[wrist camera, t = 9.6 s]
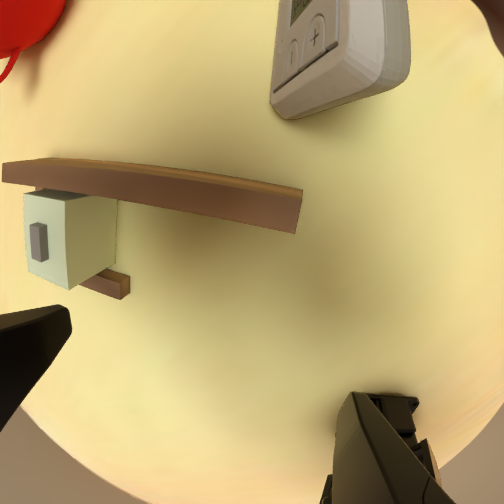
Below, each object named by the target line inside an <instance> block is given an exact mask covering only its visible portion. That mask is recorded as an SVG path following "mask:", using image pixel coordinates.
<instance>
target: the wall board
mask: <svg viewBox="0 0 504 504" xmlns="http://www.w3.org/2000/svg"><path fill="white" fill-rule="evenodd" d="M2 182H6V183H13V184H20V185H28V186H35V187H36V189H35V191H39V190H44V189H55V190H62V191H68V192H75V193H81V194H87V195H93V196H99V197H105V198H111V199H117V200H123V201H129V202H135V203H140V204H146V205H152V206H157V207H163V208H168V209H174V210H179V211H184V212H189V213H195V214H200V215H205V216H210V217H215V218H220V219H225V220H231V221H235V222H240V223H245V224H250V225H255V226H260V227H265V228H269V229H274V230H279V231H284V232H288V233H293V234H295V231H296V227H297V222H298V217H299V212H300V207H301V202H302V194H303V190H300V189H296V188H291V187H286V186H281V185H276V184H270V183H265V182H260V181H254V180H249V179H243V178H237V177H231V176H225V175H219V174H212V173H206V172H199V171H192V170H184V169H177V168H169V167H160V166H152V165H142V164H133V163H122V162H110V161H97V160H82V159H62V158H42V159H35V160H25V161H16V162H7V163H3V164H2ZM79 285H81V286H84V287H86V288H89V289H92V290H94V291H97V292H99V293H102V294H105V295H108V296H110V297H113V298H116V299H119V300H121V299H122V298H124V297H125V296H126V295H127V294H129V293H130V276H126V275H123V274H120V273H117V272H114V271H110V270H107V269H104V270H102V271H101V272H99V273H97V274H95V275H94V276H92V277H90V278H89V279H87V280H85V281H83V282H82V283H80V284H79Z"/></svg>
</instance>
